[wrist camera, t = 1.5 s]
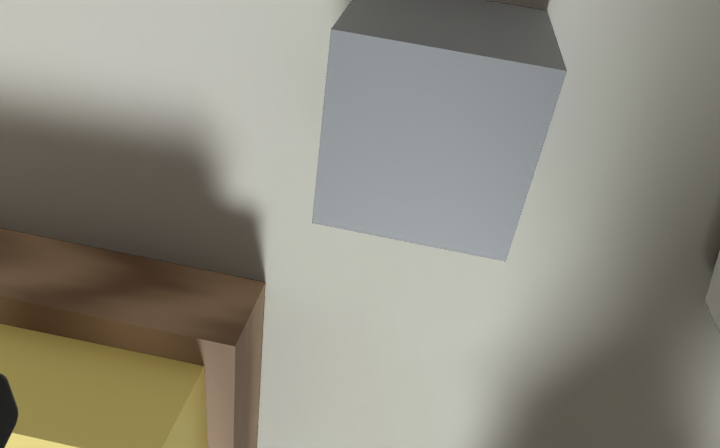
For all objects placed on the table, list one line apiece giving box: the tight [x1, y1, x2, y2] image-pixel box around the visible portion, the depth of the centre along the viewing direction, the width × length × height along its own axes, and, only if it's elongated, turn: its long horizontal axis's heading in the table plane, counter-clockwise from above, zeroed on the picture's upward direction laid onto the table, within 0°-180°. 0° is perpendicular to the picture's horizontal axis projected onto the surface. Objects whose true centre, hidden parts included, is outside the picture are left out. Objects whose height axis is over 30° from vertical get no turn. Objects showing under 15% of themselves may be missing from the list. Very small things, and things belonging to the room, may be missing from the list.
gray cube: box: [312, 0, 567, 261], centre depth 17 cm, size 5×5×5 cm
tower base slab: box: [0, 228, 265, 448], centre depth 26 cm, size 12×12×4 cm
